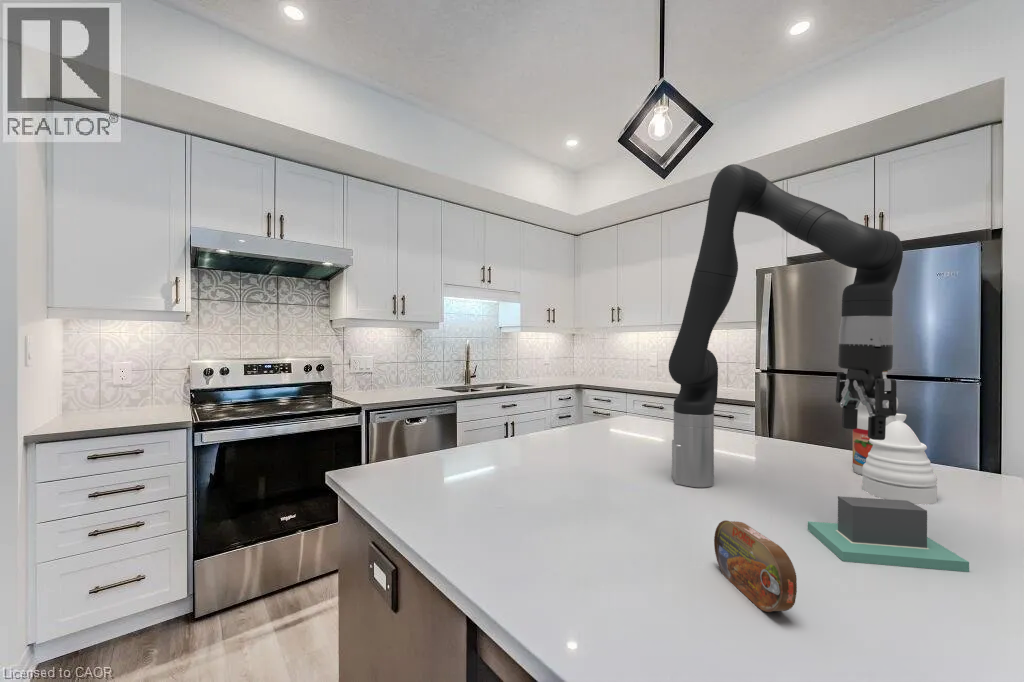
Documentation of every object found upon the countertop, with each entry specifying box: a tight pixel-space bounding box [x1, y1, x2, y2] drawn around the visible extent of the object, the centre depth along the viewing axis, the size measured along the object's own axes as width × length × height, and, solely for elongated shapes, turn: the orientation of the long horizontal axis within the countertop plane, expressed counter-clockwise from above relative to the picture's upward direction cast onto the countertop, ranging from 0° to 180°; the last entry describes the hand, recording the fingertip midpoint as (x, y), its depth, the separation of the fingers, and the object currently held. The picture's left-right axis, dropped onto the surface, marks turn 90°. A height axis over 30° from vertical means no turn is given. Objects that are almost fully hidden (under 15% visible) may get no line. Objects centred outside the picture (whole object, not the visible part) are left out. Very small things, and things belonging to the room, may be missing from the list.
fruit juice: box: [852, 370, 899, 476], centre depth 116 cm, size 9×9×28 cm
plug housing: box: [837, 495, 928, 548], centre depth 75 cm, size 11×5×6 cm, turn 79°
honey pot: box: [861, 413, 938, 506], centre depth 101 cm, size 13×13×18 cm
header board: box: [807, 521, 970, 573], centre depth 75 cm, size 17×12×5 cm
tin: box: [713, 520, 798, 613], centre depth 62 cm, size 15×3×8 cm, turn 5°
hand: (862, 433), depth 79 cm, fingers open, 8 cm apart
